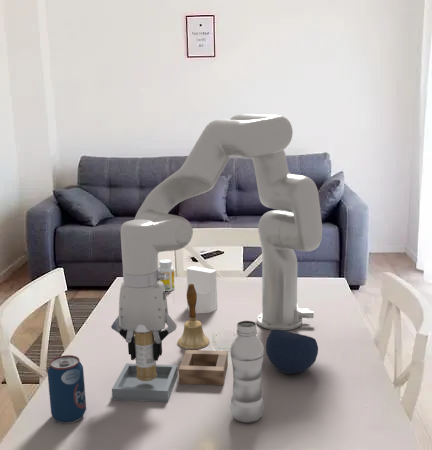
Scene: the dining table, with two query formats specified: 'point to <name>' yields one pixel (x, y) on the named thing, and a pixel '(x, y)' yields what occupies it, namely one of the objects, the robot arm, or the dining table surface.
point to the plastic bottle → (247, 373)
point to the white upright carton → (203, 288)
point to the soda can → (66, 389)
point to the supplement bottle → (167, 274)
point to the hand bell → (192, 325)
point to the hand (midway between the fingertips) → (145, 356)
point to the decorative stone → (291, 351)
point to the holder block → (203, 367)
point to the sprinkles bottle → (144, 354)
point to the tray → (145, 384)
